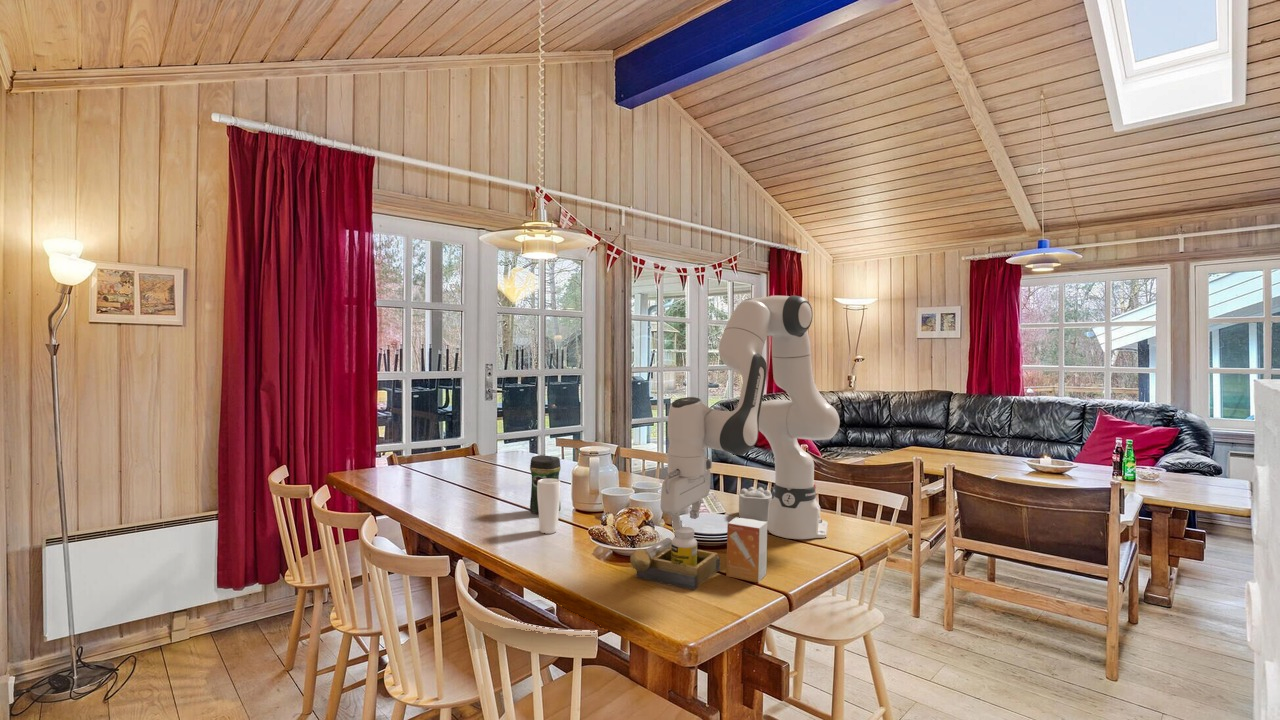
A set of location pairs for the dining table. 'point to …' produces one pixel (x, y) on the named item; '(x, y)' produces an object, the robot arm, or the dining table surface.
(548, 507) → the drinking glass
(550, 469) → the coffee jar
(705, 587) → the dining table surface
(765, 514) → the lumpy-topped squat cylinder
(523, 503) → the dining table surface
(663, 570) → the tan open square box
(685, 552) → the pill bottle
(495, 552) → the dining table surface
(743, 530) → the small box
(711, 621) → the dining table surface
